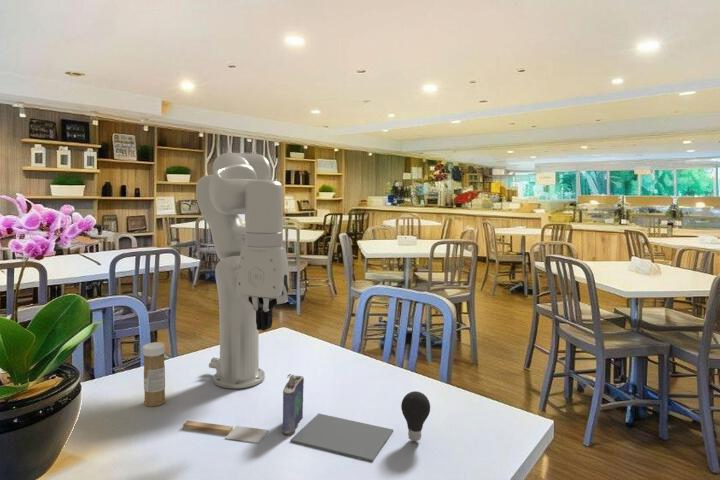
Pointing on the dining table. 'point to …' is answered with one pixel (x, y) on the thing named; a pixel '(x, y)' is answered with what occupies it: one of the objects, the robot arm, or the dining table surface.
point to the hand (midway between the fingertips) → (264, 328)
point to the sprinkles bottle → (154, 373)
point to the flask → (292, 404)
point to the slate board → (343, 436)
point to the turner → (229, 431)
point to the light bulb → (415, 413)
